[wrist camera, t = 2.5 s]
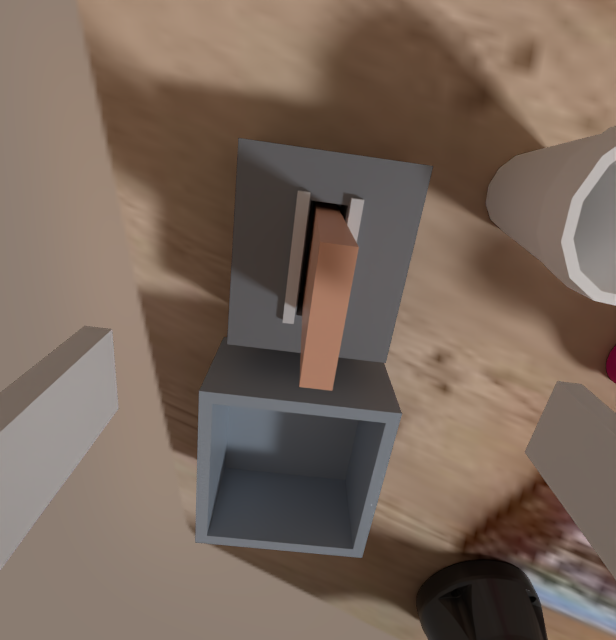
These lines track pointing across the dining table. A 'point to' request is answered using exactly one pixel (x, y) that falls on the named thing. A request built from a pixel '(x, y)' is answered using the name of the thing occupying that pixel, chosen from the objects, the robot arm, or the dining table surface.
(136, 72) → the dining table surface
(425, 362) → the dining table surface
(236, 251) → the dispenser
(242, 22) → the dining table surface
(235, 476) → the bin
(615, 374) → the pepper mill
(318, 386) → the terracotta flat slab
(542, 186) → the foam cup
